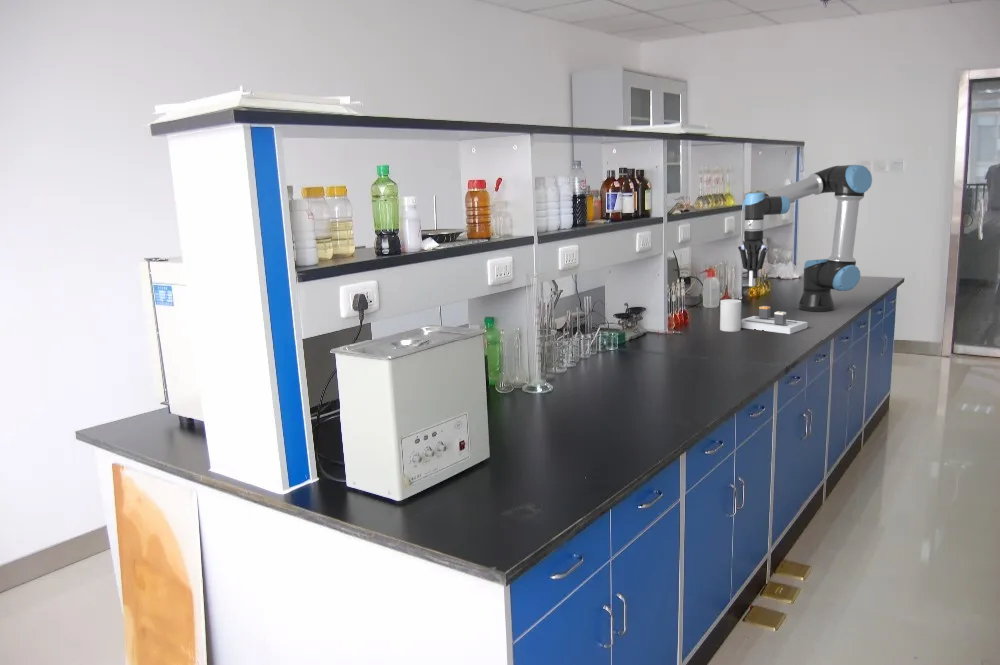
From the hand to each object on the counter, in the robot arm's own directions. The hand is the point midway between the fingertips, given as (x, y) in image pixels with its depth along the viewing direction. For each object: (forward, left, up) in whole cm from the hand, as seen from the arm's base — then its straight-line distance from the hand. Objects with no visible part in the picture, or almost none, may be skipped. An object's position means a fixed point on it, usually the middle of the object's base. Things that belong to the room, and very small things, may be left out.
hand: (752, 285), depth 312 cm
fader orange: (0, +6, -13) cm, 15 cm away
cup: (+17, 0, -16) cm, 24 cm away
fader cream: (+8, +17, -13) cm, 23 cm away
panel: (+4, +11, -16) cm, 20 cm away
